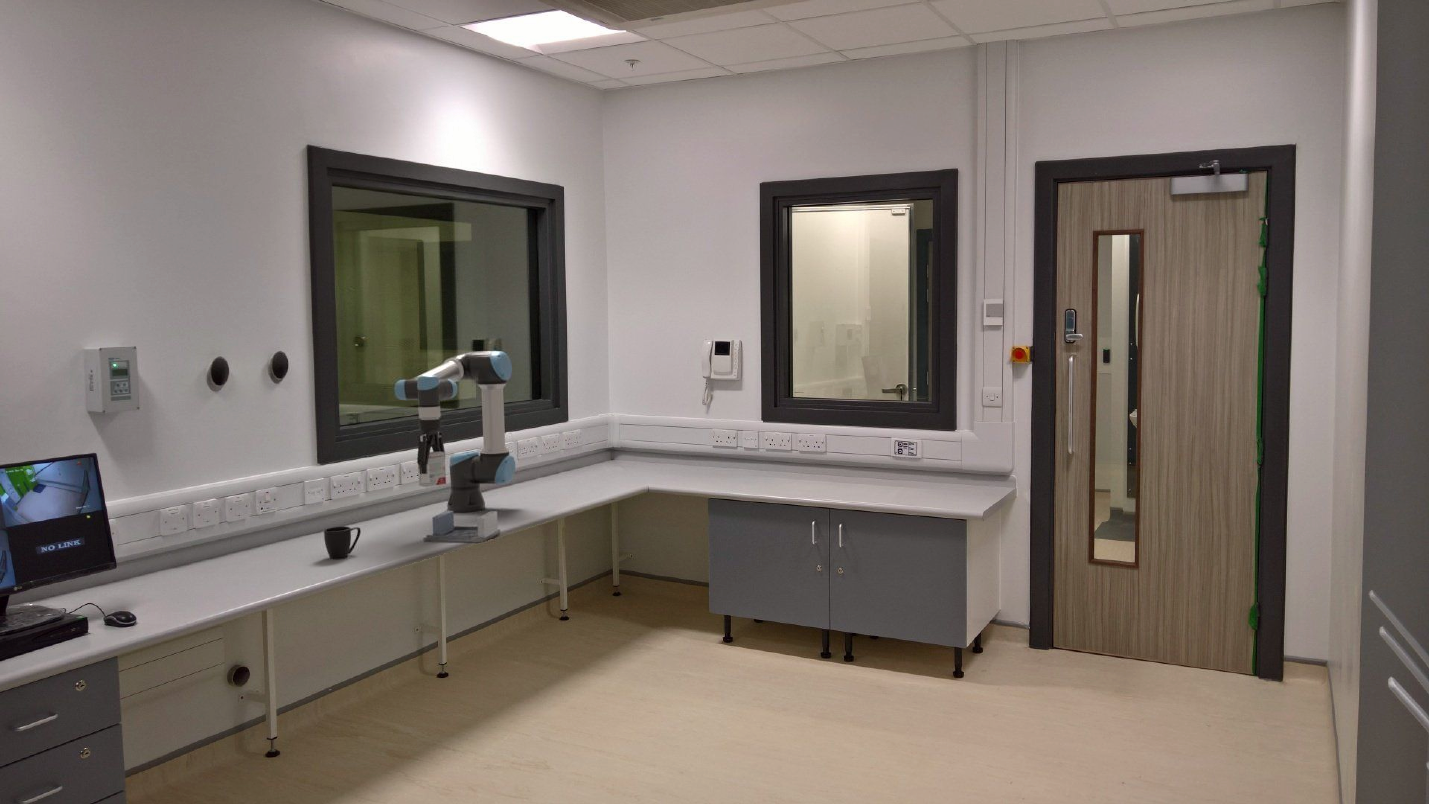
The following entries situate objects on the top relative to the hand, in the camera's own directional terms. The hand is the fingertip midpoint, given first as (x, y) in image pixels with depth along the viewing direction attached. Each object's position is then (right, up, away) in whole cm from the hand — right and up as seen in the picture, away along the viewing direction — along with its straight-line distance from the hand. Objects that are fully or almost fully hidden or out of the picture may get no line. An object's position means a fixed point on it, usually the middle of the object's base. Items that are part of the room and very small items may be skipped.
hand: (432, 480), depth 361 cm
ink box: (0, -2, 0) cm, 2 cm away
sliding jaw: (+5, -19, -2) cm, 19 cm away
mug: (-21, -23, -29) cm, 42 cm away
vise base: (+12, -20, -3) cm, 23 cm away
